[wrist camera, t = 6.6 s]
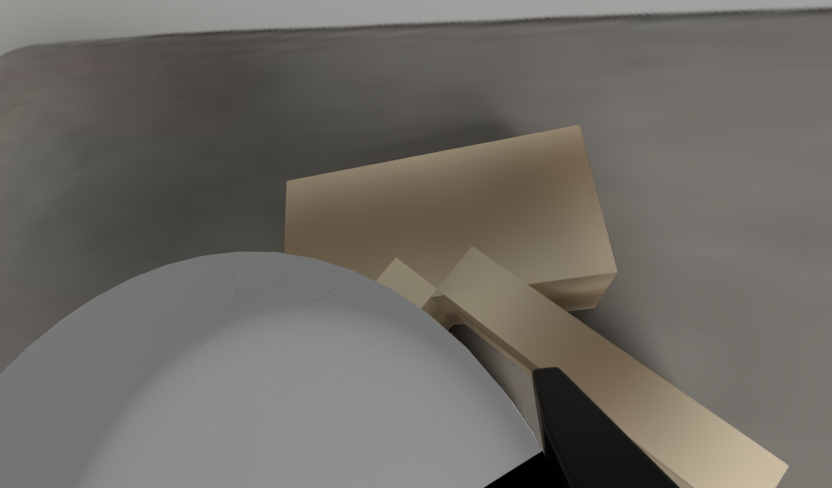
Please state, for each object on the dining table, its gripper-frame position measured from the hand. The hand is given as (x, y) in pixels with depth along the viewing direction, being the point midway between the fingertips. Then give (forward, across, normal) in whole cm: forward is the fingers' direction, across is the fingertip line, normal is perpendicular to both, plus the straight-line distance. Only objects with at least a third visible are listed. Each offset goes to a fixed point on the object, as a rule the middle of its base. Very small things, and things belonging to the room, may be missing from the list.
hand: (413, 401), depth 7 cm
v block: (+7, 0, +4) cm, 8 cm away
